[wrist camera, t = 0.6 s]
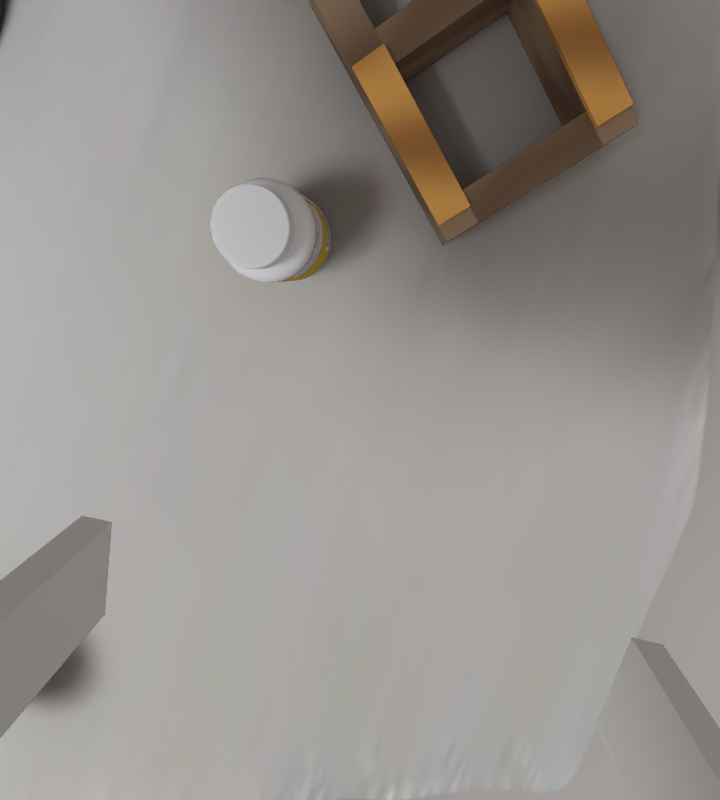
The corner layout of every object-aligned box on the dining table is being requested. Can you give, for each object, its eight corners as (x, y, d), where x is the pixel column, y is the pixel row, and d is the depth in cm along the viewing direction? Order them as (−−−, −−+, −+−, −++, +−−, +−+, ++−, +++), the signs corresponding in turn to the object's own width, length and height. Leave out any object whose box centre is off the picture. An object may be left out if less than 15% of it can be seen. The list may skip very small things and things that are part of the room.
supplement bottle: (237, 244, 35) (173, 234, 26) (285, 177, 34) (237, 141, 24) (299, 297, 35) (259, 306, 26) (349, 233, 34) (326, 218, 25)
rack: (266, -74, 30) (243, -131, 26) (440, -216, 28) (445, -303, 24) (442, 245, 34) (447, 241, 29) (610, 141, 31) (642, 121, 27)
